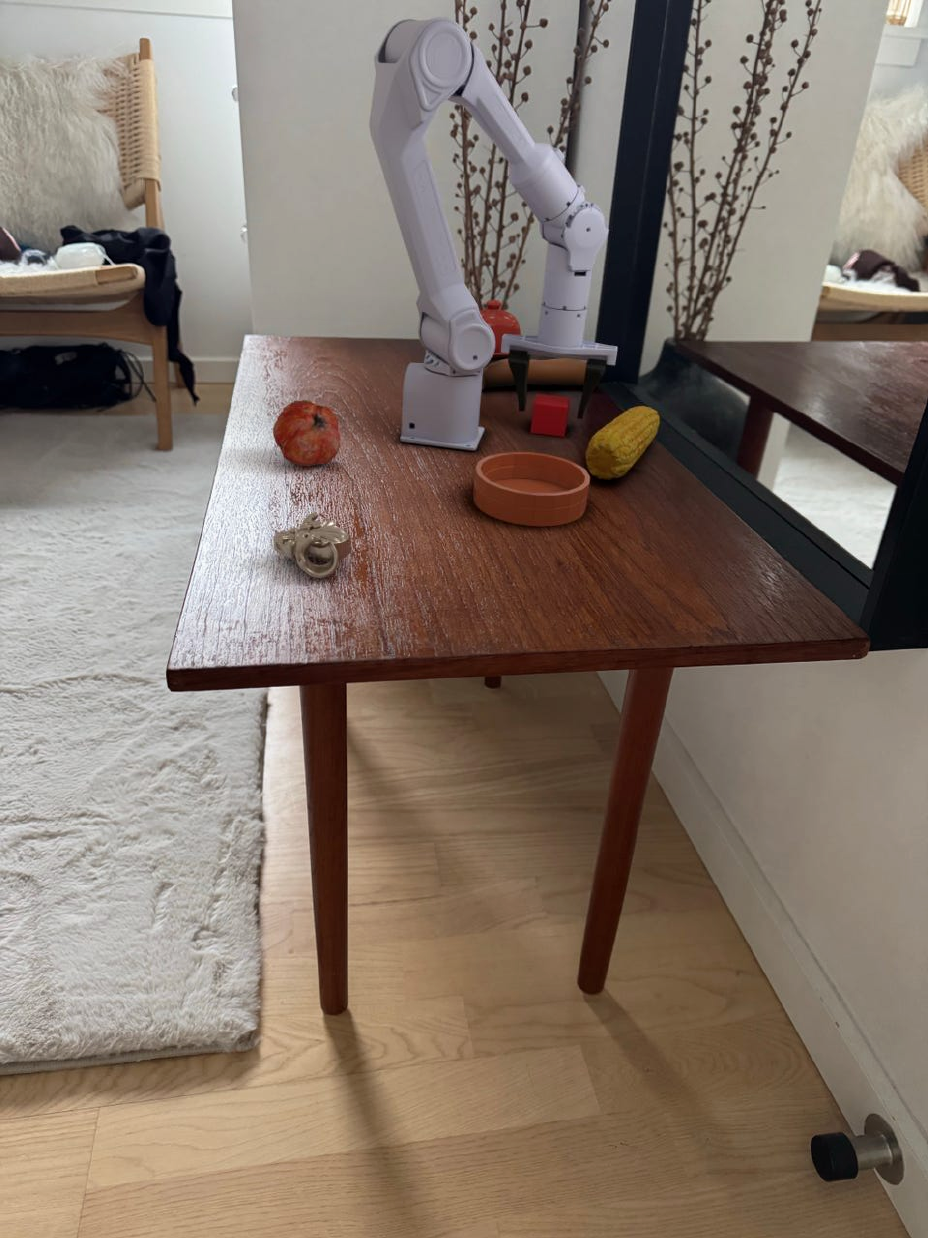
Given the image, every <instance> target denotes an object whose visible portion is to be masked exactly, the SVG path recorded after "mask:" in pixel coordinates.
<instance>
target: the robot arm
mask: <svg viewBox="0 0 928 1238" xmlns="http://www.w3.org/2000/svg"><path fill="white" fill-rule="evenodd" d="M373 60H374V70H375V78H374V86H373V93H372V100H371V106H370V115H369V121H368V122H369V123H368V126H369V132H370V136H371V140H372V143H373V146H374V149H375V152H376V155H377V159H378V162H379V165H380V169H381V172H382V176H383V178H384V182H385V185H386V188H387V191H388V195H389V198H390V201H391V204H392V207H393V211H394V213H395V217H396V220H397V223H398V227H399V230H400V233H401V236H402V239H403V243H404V246H405V249H406V252H407V256H408V260H409V262H410V265H411V268H412V273H413V275H414V278H415V281H416V284H417V287H418V290H419V294H418V297H417V299H416V302H415V304H416V308H417V312H418V326H417V335H418V339H419V342H420V344H421V346H422V347H423V348H424V349H425V356H424V360H423V362H409V363H408V365H407V367H406V371H405V374H404V381H403V388H402V389H403V391H402V410H401V411H402V412H401V413H402V414H401V436H400V438H399V439H400V440H399V441H401V442H403V443H409V444H410V443H411V444H419V445H426V446H434V447H442V448H449V449H456V450H457V449H458V450H464V451H472V452H473V451H476V450H477V449H478V446H479V444H480V442H481V440H482V437H483V435H484V433H485V427H484V426H479V425H480V413H481V412H480V411H481V401H482V391H483V389H482V378H483V369H484V368H486V366H487V365H489V364H490V362H491V360H492V359H493V358H492V356H493V353H494V350H495V337H494V333H493V331H492V329H491V328H490V326H489V325H488V324H487V323H486V322H485V321H484V320H483V318H482V317H481V314H480V311H479V310H480V308H479V305H478V303H477V302H476V300H475V298H474V296H473V295H472V293H471V292H470V290H469V289H468V287H467V286H466V284H465V281H464V276H463V273H462V270H461V267H460V262H459V258H458V256H457V255H458V254H457V252H456V248H455V244H454V241H453V237H452V233H451V230H450V227H449V222H448V220H447V219H448V218H447V216H446V212H445V208H444V205H443V201H442V198H441V194H440V191H439V186H438V184H437V179H436V176H435V172H434V169H433V166H432V161H431V159H430V154H429V150H428V148H427V144H426V140H425V134H426V132H427V130H428V128H429V126H430V124H431V123H432V120H433V119H434V117H435V115H436V113H437V111H438V110H439V109H440V108H441V107H442V105H443V104H445V103H446V102H447V101H448V102H452V103H454V104H457V105H459V106H463V108H464V109H466V111H467V112H468V113H469V115H470V116H471V117H472V118H473V120H474V121H475V123H477V124H478V126H479V127H480V129H481V130H482V131H483V132H484V134H486V136H487V137H488V139H490V140H491V142H492V143H493V144H494V146H495V147H496V148H497V150H499V152H500V153H501V155H503V157H504V158H505V159H506V160H507V162H508V163H509V168H508V181H509V184H510V185H511V186H512V187H513V189H514V190H515V191H516V193H517V194H518V195H519V196H520V198H521V199H522V200H523V202H524V203H525V205H526V206H527V207H528V209H529V210H530V211H531V213H532V214H533V215H534V217H535V218H536V219H537V222H538V223H539V232H540V236H541V238H542V239H543V240H545V241H546V242H547V249H546V256H545V257H546V258H545V268H544V276H543V285H542V292H541V293H542V294H541V302H540V311H539V321H538V329H537V335H533V334H530V335H529V334H521V335H510V334H504V335H503V337H502V343H501V353H509V358H507V359H508V363H509V367H510V369H511V372H512V375H513V378H514V381H515V385H514V386H515V388H516V394H517V401H518V402H517V403H518V412H521V413H524V412H525V410H526V406H527V399H528V398H527V397H528V395H527V394H528V384H527V378H528V370H529V363H530V360H531V356H541V357H548V358H556V359H558V358H566V359H575V360H581V361H586V362H587V364H586V369H585V377H584V384H583V385H582V392H581V396H580V401H579V405H578V411H577V417H576V419H580V420H583V418H584V414H585V410H586V408H587V405H588V403H589V401H590V399H591V396H592V394H593V392H594V391H595V390H596V389H595V387H596V385H597V384H598V382H599V383H600V381H601V379H602V378H603V376H604V374H605V373H606V369H607V366H616V361H617V354H618V346H615V345H608V344H603V343H598V342H594V341H588V340H584V336H585V327H586V322H587V321H586V320H587V314H588V313H587V312H588V306H589V299H590V292H591V285H592V276H593V270H594V266H596V259H597V255H598V253H599V251H600V250H601V249H602V247H603V246H604V244H605V243H606V240H607V238H608V235H609V231H610V229H608V228H607V227H606V222H605V220H606V218H605V215H604V212H603V211H602V209H601V208H600V207H599V205H597V204H595V203H593V202H590V201H586V197H585V193H586V188H585V187H584V186H583V185H582V184H580V183H577V182H576V181H575V179H574V178H573V177H572V175H571V174H570V172H569V171H568V169H567V167H566V166H565V164H564V163H563V162H562V161H563V160H564V159H565V155H564V154H563V152H562V150H561V149H560V148H557V147H552V146H551V144H549V143H547V142H535V141H534V140H533V138H532V137H531V135H530V133H529V132H528V130H527V129H526V127H525V125H524V123H523V122H522V120H521V119H520V117H519V116H518V114H517V112H516V110H515V109H514V107H513V106H512V103H510V100H509V99H508V98H507V96H506V94H505V93H504V91H503V90H502V88H501V86H500V84H499V83H498V82H497V80H496V78H495V77H494V75H493V74H492V72H491V71H490V69H489V66H488V64H487V62H486V60H485V57H484V54H483V52H482V51H481V50H480V49H479V48H478V47H477V46H476V44H474V43H473V42H471V41H470V39H469V36H468V34H467V33H466V31H465V29H464V28H463V27H462V26H461V25H460V24H459V23H458V22H456V20H454V19H451V18H449V17H446V16H438V17H437V16H436V17H433V18H430V19H420V20H417V19H414V18H406V19H402V20H401V19H400V20H399V21H397V22H396V23H394V24H393V25H392V26H391V27H390V28H389V29H388V31H387V32H386V34H385V36H384V37H383V39H382V41H381V43H380V45H379V47H378V49H377V51H376V52H375V54H374V57H373ZM598 385H599V384H598Z"/></svg>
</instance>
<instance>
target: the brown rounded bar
mask: <svg viewBox="0 0 928 1238" xmlns="http://www.w3.org/2000/svg"><path fill="white" fill-rule="evenodd" d="M586 364H587V361H584V360H575V359H566V358H549V359H541V360H540V359H539V360H538V359H530V363H529V370H528V378H527V385H535V386H536V385H537V386H538V385H540V386H549V385H550V386H551V385H558V386H583V384H584V377H585V369H586ZM599 384H600V381H599V382H598V384H597V385H596V387H595V389H594V390H598V388H599ZM513 386H516V385H515V381H514V378H513V375H512V372H511V369H510V367H509V363H508V358H503V359H499V360H497V361H496V360H495V361H494V362H491V363H489V364H488V366H487V367H484V368H483V378H482V390H485V389H486V388H499V387H500V388H501V387H513Z"/></svg>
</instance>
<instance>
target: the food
mask: <svg viewBox="0 0 928 1238" xmlns="http://www.w3.org/2000/svg"><path fill="white" fill-rule="evenodd" d="M660 420H661V418H660V415H659V413H658V411H657V410H655V409H653V408H652V407H648V406H645V405H639V406H635V407H631V408H629V409H627V410H626V411H624V412H622V413H621V414H619V415H618V416H616V417H614V418H613V419H612V420H611V421H610V422H609V423H607V424H605V426H604V427H602V428H601V429H600V430H598V431H597V432H596V433H595V434H594V435H592V437H591V439H590V440H589V442H588V446H587V448H586V450H585V456H584V457H585V462H586V468H587V470H588V471H589V473H590V475H592V476H593V477H596V478H597V479H601V480H608V481H611V479H619V478H621V477H623V476H624V475H626V473H628V471H630V470H631V469H632V468H633V467H634V465H635V464H636V463H637V462H638V460H639V459H640V458H641V456H642V455H643V454H644V452H645V451H646V449H647V448H648V446H650V445H651V443H652V442H653V440H654V439H655V437H656V436H657V433H658V431H659V427H660V424H661V421H660Z"/></svg>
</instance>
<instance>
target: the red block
mask: <svg viewBox="0 0 928 1238" xmlns="http://www.w3.org/2000/svg"><path fill="white" fill-rule="evenodd" d="M570 401H571V397H569V396H561V395H553V394H544V393H536V396H535V399H534V402H533V407H532V415H531V425H530V433H531V434H535V435H536V434H538V435H545V436H552V437H553V436H554V437H562V438H564V437H565V433H566V429H567V422H568V418H569V417H568V416H569V409H570V408H569V407H570Z"/></svg>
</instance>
